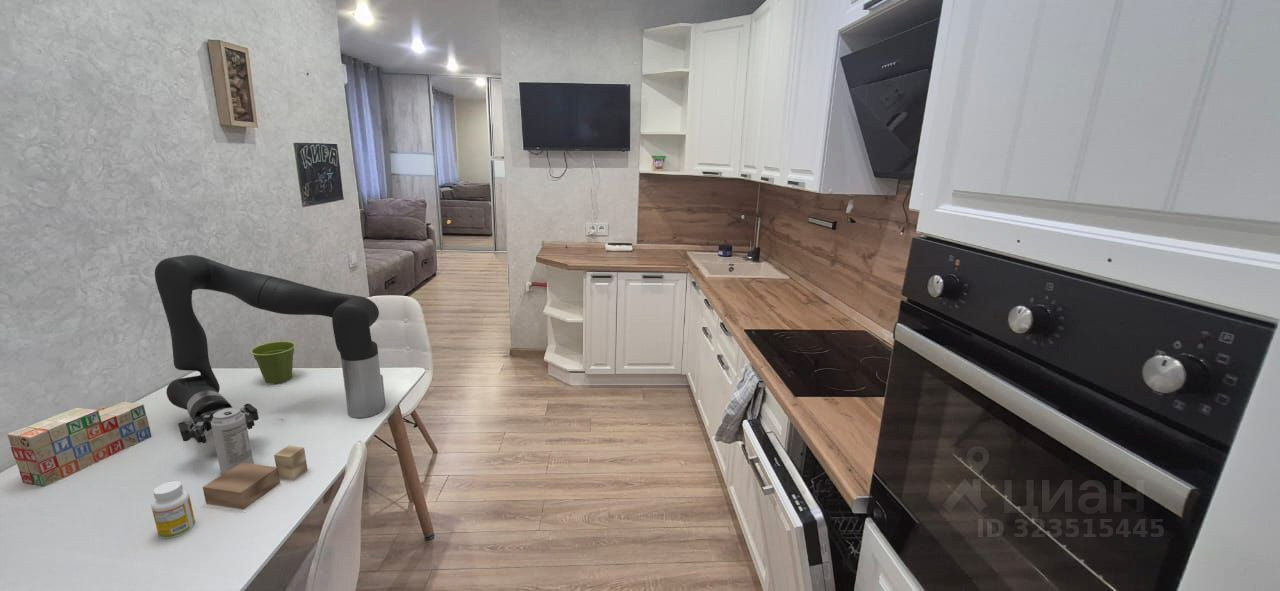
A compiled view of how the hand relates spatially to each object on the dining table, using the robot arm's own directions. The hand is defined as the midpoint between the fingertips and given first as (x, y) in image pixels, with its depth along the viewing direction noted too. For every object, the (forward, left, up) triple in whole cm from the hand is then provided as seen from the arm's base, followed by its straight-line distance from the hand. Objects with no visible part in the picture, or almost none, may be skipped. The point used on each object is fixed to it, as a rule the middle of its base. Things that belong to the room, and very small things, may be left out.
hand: (227, 432), depth 117 cm
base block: (+8, +11, -9) cm, 16 cm away
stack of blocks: (+4, -35, -9) cm, 36 cm away
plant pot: (-43, -29, -9) cm, 52 cm away
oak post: (0, +16, -9) cm, 18 cm away
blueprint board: (+6, +12, -9) cm, 16 cm away
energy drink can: (+1, +2, -9) cm, 10 cm away
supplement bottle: (+20, +8, -9) cm, 23 cm away
